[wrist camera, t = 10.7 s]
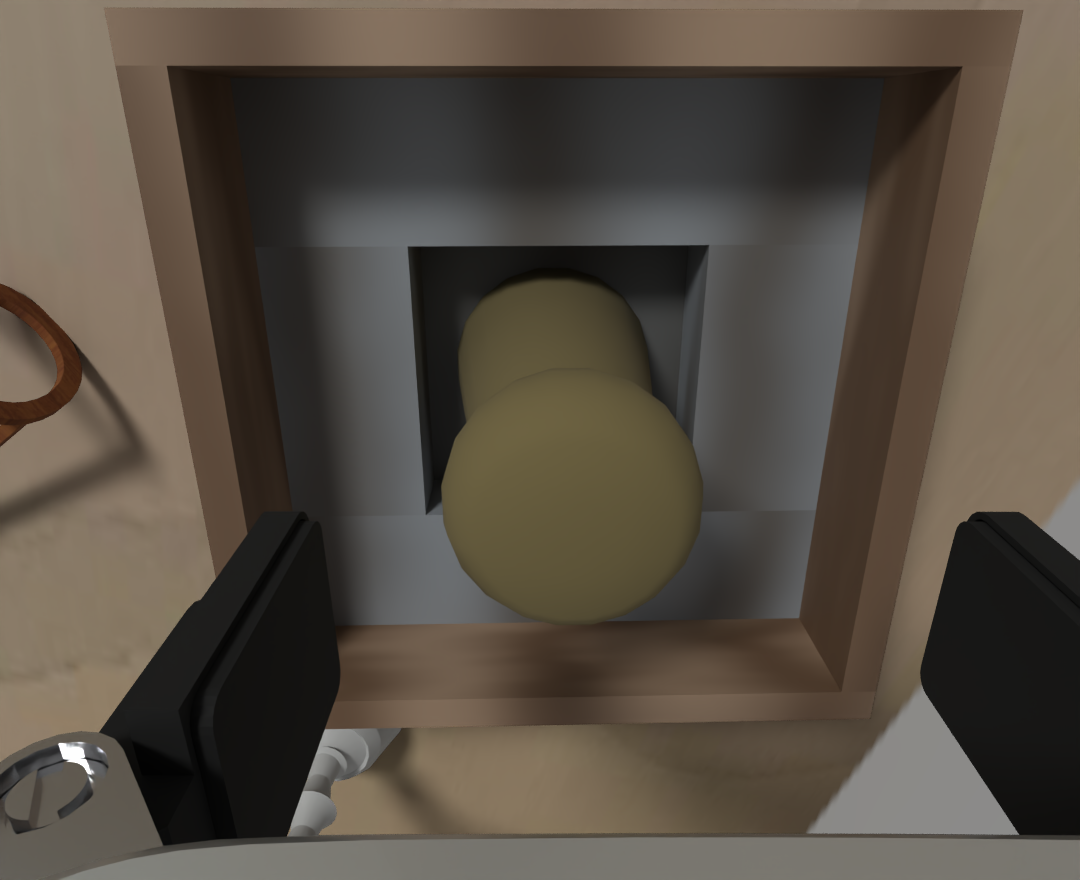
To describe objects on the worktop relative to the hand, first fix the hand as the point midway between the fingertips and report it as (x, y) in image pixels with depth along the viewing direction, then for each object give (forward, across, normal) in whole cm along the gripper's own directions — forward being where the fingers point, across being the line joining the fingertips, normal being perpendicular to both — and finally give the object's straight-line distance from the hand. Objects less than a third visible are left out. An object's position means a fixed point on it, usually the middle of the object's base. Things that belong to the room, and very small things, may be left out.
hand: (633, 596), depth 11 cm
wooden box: (+14, +1, +1) cm, 14 cm away
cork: (+14, +1, +1) cm, 14 cm away
